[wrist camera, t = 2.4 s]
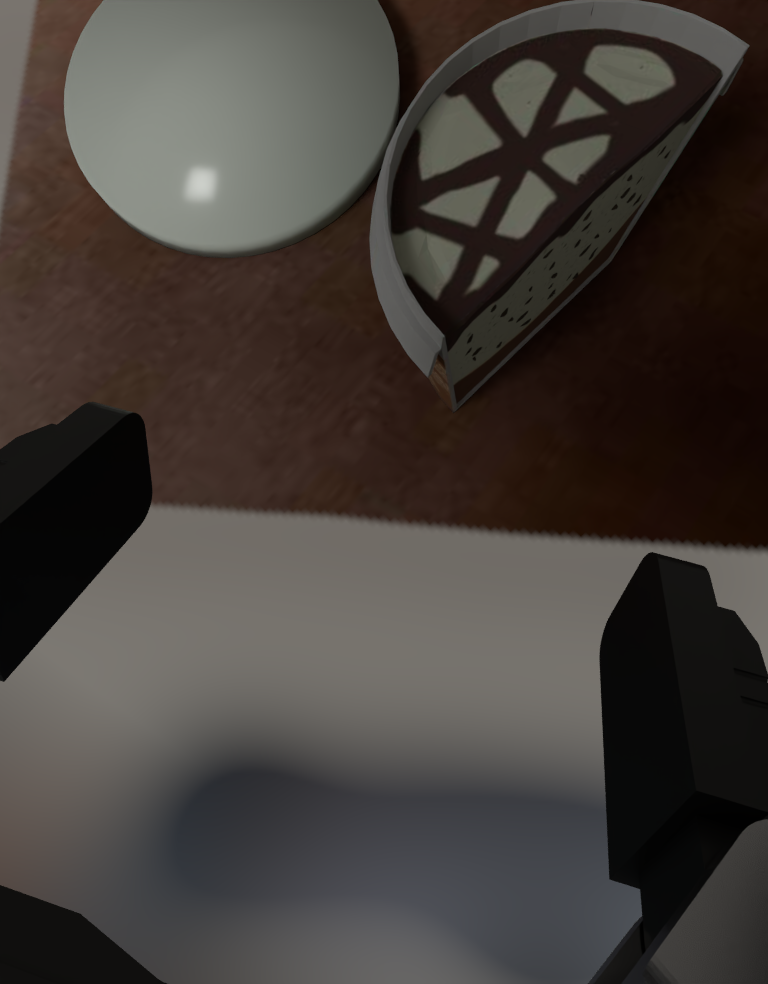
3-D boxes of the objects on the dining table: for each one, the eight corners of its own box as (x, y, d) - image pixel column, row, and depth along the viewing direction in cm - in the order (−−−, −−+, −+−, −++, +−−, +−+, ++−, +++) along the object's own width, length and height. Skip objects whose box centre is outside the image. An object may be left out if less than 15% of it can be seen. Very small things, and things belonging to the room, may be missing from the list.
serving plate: (437, -11, 28) (437, -37, 27) (348, 291, 27) (344, 278, 25) (137, -64, 30) (125, -91, 29) (35, 218, 28) (18, 202, 27)
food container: (531, 145, 27) (591, -102, 17) (636, 237, 26) (763, 31, 16) (327, 338, 26) (267, 197, 17) (427, 437, 26) (427, 352, 16)
